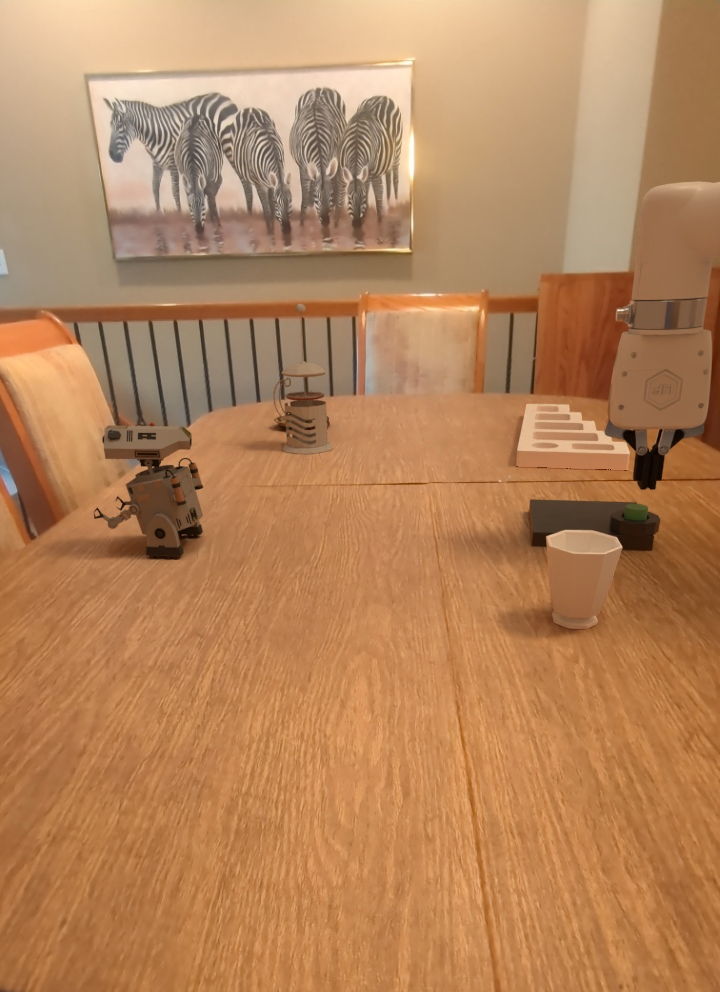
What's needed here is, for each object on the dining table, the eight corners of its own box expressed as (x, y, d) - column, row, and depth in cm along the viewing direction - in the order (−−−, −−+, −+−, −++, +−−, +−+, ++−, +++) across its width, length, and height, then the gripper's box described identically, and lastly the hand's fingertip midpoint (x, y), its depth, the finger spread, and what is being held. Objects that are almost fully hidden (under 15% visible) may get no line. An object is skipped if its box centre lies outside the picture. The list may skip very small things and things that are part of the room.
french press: (314, 456, 137) (306, 305, 126) (263, 449, 142) (252, 305, 131) (343, 445, 144) (339, 302, 133) (294, 439, 150) (286, 301, 139)
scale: (640, 515, 102) (644, 490, 100) (658, 552, 89) (663, 524, 88) (528, 512, 104) (530, 487, 103) (531, 547, 92) (534, 520, 90)
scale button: (644, 516, 92) (646, 503, 91) (648, 522, 89) (650, 510, 89) (622, 515, 92) (624, 503, 91) (625, 522, 90) (627, 509, 89)
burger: (272, 423, 165) (269, 387, 162) (325, 420, 167) (324, 385, 164) (276, 434, 155) (274, 396, 151) (333, 430, 156) (332, 393, 153)
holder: (525, 416, 166) (526, 403, 165) (611, 418, 162) (612, 405, 161) (515, 466, 127) (517, 450, 126) (628, 470, 123) (630, 454, 122)
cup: (528, 626, 72) (535, 547, 69) (557, 589, 80) (564, 516, 76) (602, 641, 69) (614, 558, 66) (625, 601, 77) (636, 525, 73)
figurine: (130, 533, 100) (110, 417, 93) (214, 535, 98) (201, 417, 92) (101, 558, 92) (77, 433, 85) (192, 560, 90) (175, 433, 84)
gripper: (597, 323, 79) (583, 495, 87) (751, 317, 76) (721, 495, 84) (590, 318, 85) (577, 478, 93) (732, 312, 83) (706, 478, 91)
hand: (646, 486), depth 89 cm, fingers closed
